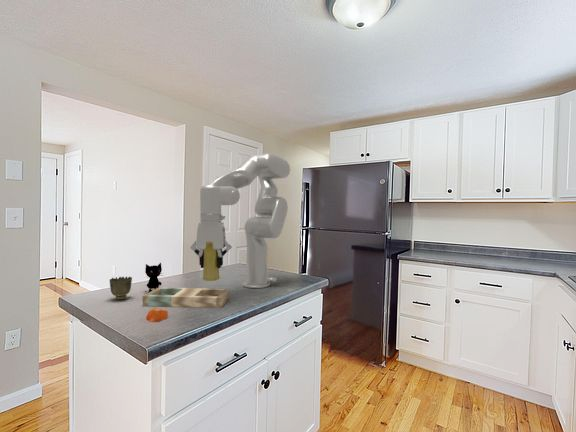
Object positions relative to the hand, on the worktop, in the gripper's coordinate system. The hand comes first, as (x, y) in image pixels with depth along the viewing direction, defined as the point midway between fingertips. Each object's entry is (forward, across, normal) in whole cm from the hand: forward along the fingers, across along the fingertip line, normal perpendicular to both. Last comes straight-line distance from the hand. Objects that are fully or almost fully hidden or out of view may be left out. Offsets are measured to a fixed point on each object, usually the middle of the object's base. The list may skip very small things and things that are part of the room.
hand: (211, 266), depth 109 cm
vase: (+5, 0, 0) cm, 5 cm away
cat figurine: (+13, +28, -11) cm, 32 cm away
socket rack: (+13, +8, +1) cm, 15 cm away
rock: (+13, +12, +18) cm, 26 cm away
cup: (+13, +34, 0) cm, 37 cm away
